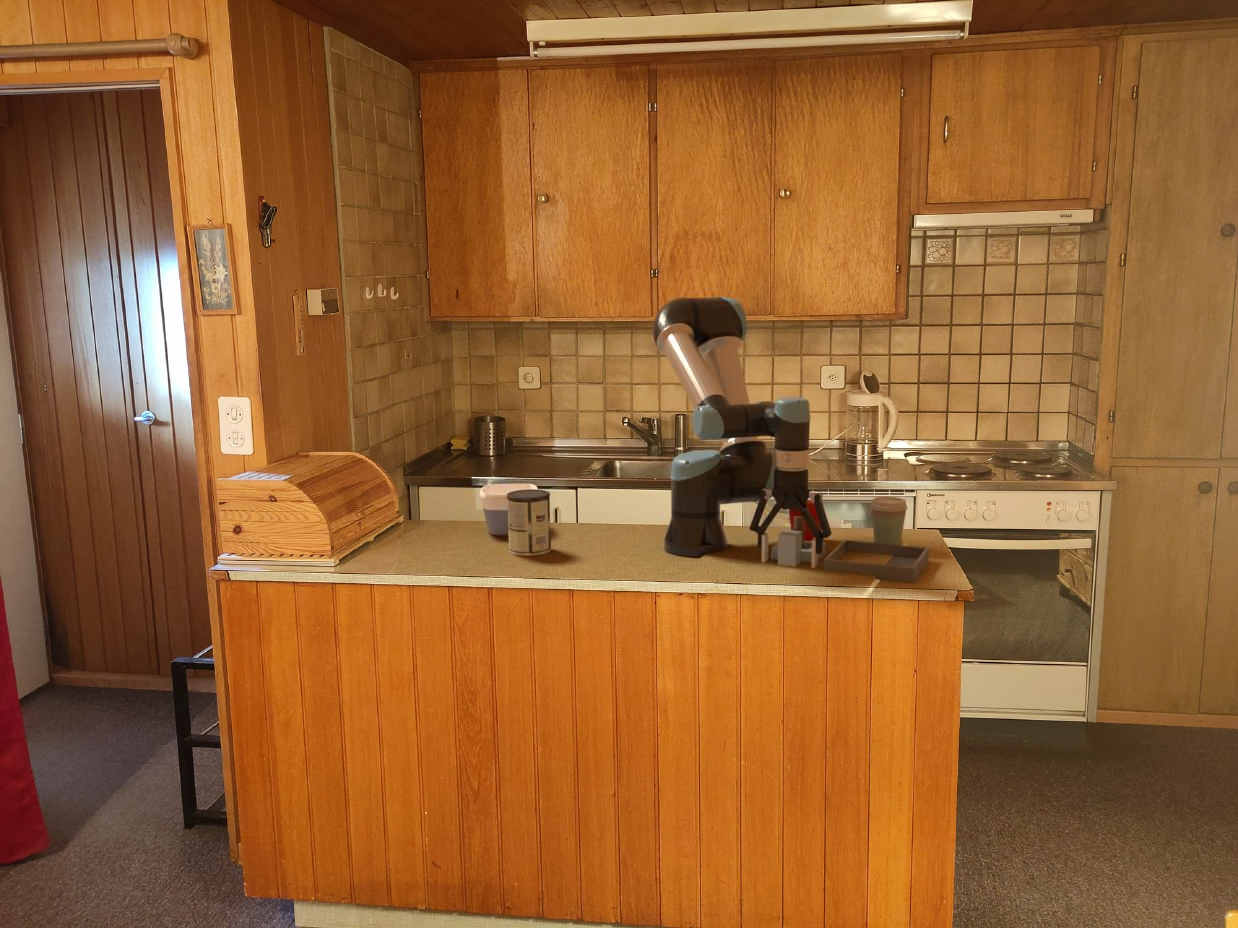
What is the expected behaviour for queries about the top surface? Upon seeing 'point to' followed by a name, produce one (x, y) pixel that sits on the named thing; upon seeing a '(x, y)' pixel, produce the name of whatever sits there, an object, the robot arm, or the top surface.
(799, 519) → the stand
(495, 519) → the plastic food container
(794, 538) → the ring
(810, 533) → the apple
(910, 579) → the tray
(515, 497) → the coffee can
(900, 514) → the coffee cup
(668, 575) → the top surface
